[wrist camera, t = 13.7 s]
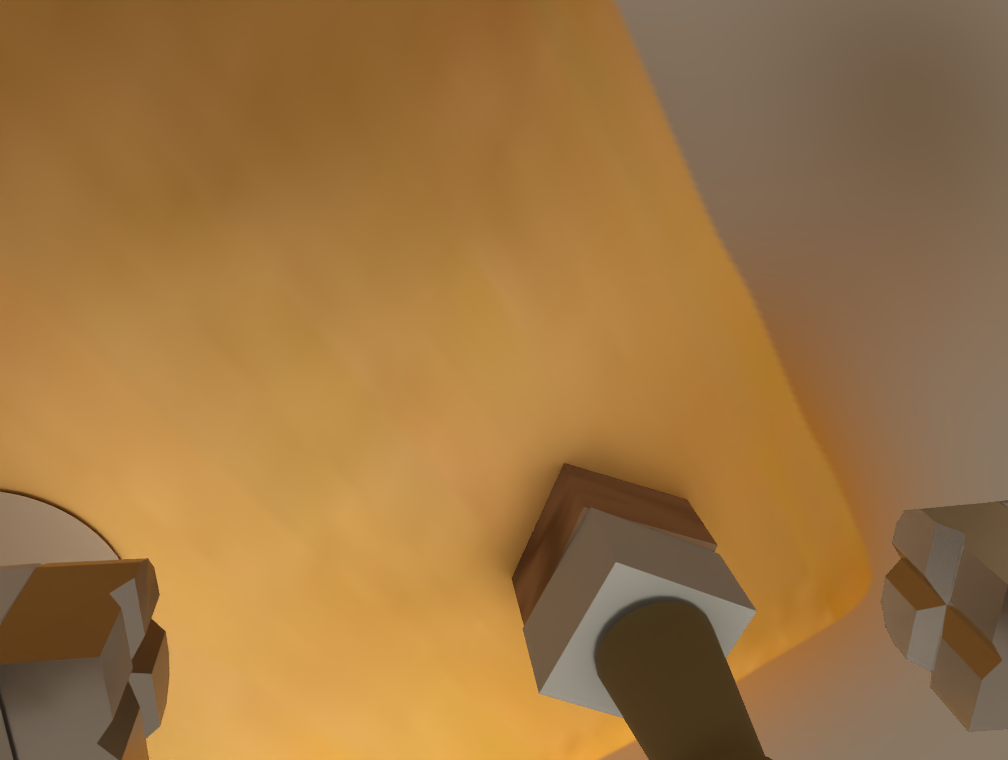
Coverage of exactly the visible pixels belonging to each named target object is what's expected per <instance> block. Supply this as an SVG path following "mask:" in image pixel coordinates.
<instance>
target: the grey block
mask: <svg viewBox="0 0 1008 760" xmlns="http://www.w3.org/2000/svg"><path fill="white" fill-rule="evenodd" d="M658 602H681V603H685V604H688V605H692V606H695V607H696V608H698V609H699V610H700V611H702V612H703V613H704V614H706V615H707V617H708V619H709V621H710V623H711V624H712V626H713V628H714V631H715V633H716V636H717V638H718V641H719V643H720V646H721V648H722V651H723V653H724V656H725V658H727V656H728V655H729V653H730V651H731V650H732V648H733V647H734V645H735V644H736V642H737V641H738V639H739V638H740V636H741V635H742V633H743V632H744V630H745V629H746V627H747V625H748V624H749V622H750V621H751V619H752V618H753V616H754V615H755V613H756V612H757V611H756V609H755V607H754V606H753V604H752V603H751V601H750V600H749V598H748V597H747V595H746V594H745V592H744V591H743V589H742V588H741V586H740V585H739V583H738V582H737V580H736V579H735V577H734V576H733V574H732V573H731V571H730V570H729V568H728V567H727V565H726V564H725V562H724V560H723V559H722V557H721V556H720V554H718V553H715V552H712V551H710V550H707V549H704V548H701V547H699V546H696V545H693V544H690V543H688V542H685V541H682V540H679V539H677V538H674V537H671V536H668V535H666V534H663V533H660V532H657V531H655V530H652V529H649V528H647V527H644V526H641V525H638V524H636V523H633V522H630V521H627V520H625V519H622V518H619V517H616V516H614V515H611V514H608V513H605V512H603V511H600V510H597V509H594V508H592V507H591V508H590V510H589V511H588V513H587V515H586V517H585V518H584V520H583V522H582V524H581V526H580V527H579V529H578V531H577V533H576V534H575V536H574V538H573V540H572V542H571V543H570V545H569V547H568V549H567V551H566V552H565V554H564V556H563V558H562V559H561V561H560V563H559V565H558V567H557V568H556V570H555V572H554V574H553V576H552V577H551V579H550V581H549V583H548V584H547V586H546V588H545V590H544V591H543V593H542V595H541V597H540V599H539V600H538V602H537V604H536V606H535V607H534V609H533V611H532V613H531V615H530V616H529V618H528V620H527V622H526V623H525V625H524V627H523V632H524V636H525V640H526V644H527V648H528V652H529V656H530V660H531V664H532V668H533V672H534V676H535V680H536V684H537V688H538V691H539V694H542V695H546V696H549V697H552V698H556V699H559V700H563V701H566V702H570V703H573V704H577V705H580V706H583V707H587V708H590V709H594V710H597V711H601V712H604V713H608V714H611V715H614V716H618V717H621V718H623V716H622V715H621V713H620V711H619V710H618V708H617V706H616V705H615V703H614V702H613V700H612V698H611V697H610V695H609V693H608V692H607V690H606V688H605V687H604V685H603V684H602V682H601V680H600V679H599V677H598V675H597V670H596V663H595V660H596V655H597V651H598V647H599V645H600V643H601V641H602V640H603V638H604V637H605V635H606V634H607V632H608V630H610V629H611V628H612V627H613V626H614V625H615V624H616V623H617V622H618V621H619V620H620V619H622V618H623V617H624V616H626V615H628V614H630V613H632V612H633V611H635V610H637V609H639V608H641V607H644V606H648V605H651V604H655V603H658Z"/></svg>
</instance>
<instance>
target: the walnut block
mask: <svg viewBox="0 0 1008 760" xmlns="http://www.w3.org/2000/svg"><path fill="white" fill-rule="evenodd" d="M591 507H592V508H594V509H597V510H600V511H603V512H605V513H608V514H611V515H614V516H616V517H619V518H622V519H625V520H627V521H630V522H633V523H636V524H638V525H641V526H644V527H647V528H649V529H652V530H655V531H657V532H660V533H663V534H666V535H668V536H671V537H674V538H677V539H679V540H682V541H685V542H688V543H690V544H693V545H696V546H699V547H701V548H704V549H707V550H710V551H712V552H714V551H715V549H716V547H717V544H716V542H715V541H714V539H713V538H712V536H711V535H710V533H709V532H708V530H707V529H706V527H705V526H704V524H703V523H702V521H701V520H700V518H699V517H698V515H697V514H696V512H695V511H694V509H693V508H692V506H691V505H690V503H689V502H688V500H686V499H683V498H679V497H676V496H673V495H669V494H666V493H663V492H659V491H656V490H652V489H649V488H646V487H642V486H639V485H636V484H632V483H629V482H626V481H622V480H619V479H616V478H612V477H609V476H606V475H602V474H599V473H596V472H592V471H589V470H585V469H582V468H579V467H575V466H572V465H569V464H565V463H564V465H563V467H562V469H561V471H560V473H559V476H558V478H557V480H556V482H555V484H554V487H553V489H552V491H551V493H550V495H549V498H548V500H547V502H546V504H545V506H544V509H543V511H542V513H541V515H540V518H539V520H538V522H537V524H536V526H535V529H534V531H533V533H532V535H531V537H530V540H529V542H528V544H527V546H526V548H525V551H524V553H523V555H522V557H521V559H520V562H519V564H518V566H517V568H516V570H515V573H514V575H513V577H512V581H513V585H514V589H515V593H516V597H517V601H518V605H519V608H520V612H521V616H522V620H523V624H524V625H525V623H526V622H527V620H528V618H529V616H530V615H531V613H532V611H533V609H534V607H535V606H536V604H537V602H538V600H539V599H540V597H541V595H542V593H543V591H544V590H545V588H546V586H547V584H548V583H549V581H550V579H551V577H552V576H553V574H554V572H555V570H556V568H557V567H558V565H559V563H560V561H561V559H562V558H563V556H564V554H565V552H566V551H567V549H568V547H569V545H570V543H571V542H572V540H573V538H574V536H575V534H576V533H577V531H578V529H579V527H580V526H581V524H582V522H583V520H584V518H585V517H586V515H587V513H588V511H589V510H590V508H591Z"/></svg>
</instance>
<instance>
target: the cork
mask: <svg viewBox="0 0 1008 760" xmlns="http://www.w3.org/2000/svg"><path fill="white" fill-rule="evenodd" d="M595 663H596V670H597V675H598V677H599V679H600V680H601V682H602V684H603V685H604V687H605V688H606V690H607V692H608V693H609V695H610V697H611V698H612V700H613V702H614V703H615V705H616V706H617V708H618V710H619V711H620V713H621V715H622V716H623V718H624V720H625V721H626V723H627V724H628V726H629V728H630V729H631V731H632V733H633V734H634V736H635V738H636V739H637V741H638V742H639V744H640V746H641V747H642V749H643V751H644V752H645V754H646V755H647V757H648V759H649V760H772V759H770V758H769V757H766V756H765V755H764V752H763V750H762V747H761V745H760V742H759V740H758V738H757V735H756V733H755V730H754V728H753V725H752V723H751V720H750V718H749V715H748V713H747V710H746V708H745V705H744V703H743V700H742V698H741V695H740V693H739V690H738V688H737V685H736V683H735V680H734V678H733V675H732V673H731V670H730V668H729V665H728V663H727V661H726V658H725V656H724V653H723V651H722V648H721V646H720V643H719V641H718V638H717V636H716V633H715V631H714V628H713V626H712V624H711V623H710V621H709V619H708V617H707V615H706V614H704V613H703V612H702V611H700V610H699V609H698V608H696V607H695V606H692V605H688V604H685V603H681V602H658V603H655V604H651V605H648V606H644V607H641V608H639V609H637V610H635V611H633V612H632V613H630V614H628V615H626V616H624V617H623V618H622V619H620V620H619V621H618V622H617V623H616V624H615V625H614V626H613V627H612V628H611V629H610V630H608V632H607V634H606V635H605V637H604V638H603V640H602V641H601V643H600V645H599V647H598V651H597V655H596V660H595Z"/></svg>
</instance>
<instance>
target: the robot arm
mask: <svg viewBox="0 0 1008 760" xmlns="http://www.w3.org/2000/svg"><path fill="white" fill-rule="evenodd" d="M892 544H893V546H894V547H895V549H896V551H897V552H898V554H899V556H900V558H901V559H900V560H899V562H898V563H897V564H896V565H895V566H894V567H893V569H891V570H890V571H889V573H888V574H887V575H886V576H885V580H884V586H883V593H882V599H881V605H882V610H883V616H884V622H885V627H886V629H887V631H888V633H889V635H890V637H891V639H892V641H893V643H894V644H895V646H896V647H897V648H898V649H899V651H900V652H901V653H902V654H903V656H904V657H905V658H906V659H907V660H910V661H911V662H913V663H915V664H917V665H919V666H921V667H923V668H925V669H927V670H929V671H931V682H930V688H931V689H932V690H933V691H934V692H935V693H936V695H937V696H938V697H939V698H940V699H941V700H942V702H943V703H944V704H945V705H946V706H947V707H948V709H949V710H950V711H951V712H952V713H953V714H954V716H955V717H956V718H957V719H958V720H959V721H960V723H961V724H962V725H963V726H964V727H965V728H966V730H967V731H968V732H974V731H987V730H1002V729H1008V500H1004V501H995V502H988V503H978V504H967V505H956V506H946V507H936V508H924V509H914V510H905V511H904V512H903V513H902V515H901V517H900V518H899V520H898V521H897V523H896V527H895V531H894V536H893V540H892ZM159 595H160V594H159V589H158V584H157V579H156V574H155V569H154V566H153V565H152V564H151V562H150V561H149V559H148V558H146V559H124V560H119V559H118V557H117V556H116V554H115V553H114V552H113V551H112V549H111V548H110V547H109V546H108V545H107V544H106V543H105V541H103V540H102V539H101V538H100V537H99V536H98V535H97V534H96V533H95V532H94V531H92V530H91V529H90V528H89V527H87V526H86V525H85V524H83V523H82V522H80V521H79V520H77V519H76V518H74V517H73V516H71V515H69V514H67V513H65V512H64V511H61V510H59V509H57V508H55V507H53V506H51V505H48V504H46V503H43V502H40V501H37V500H35V499H31V498H28V497H24V496H20V495H15V494H11V493H4V492H0V760H149V757H148V751H147V745H146V738H147V737H148V736H149V735H151V734H152V733H153V732H154V731H155V730H156V729H158V728H159V727H160V725H161V721H162V718H163V714H164V710H165V707H166V702H167V693H168V684H169V652H168V645H167V638H166V632H165V631H164V630H163V629H162V628H161V627H160V626H159V625H158V624H157V623H156V622H154V621H153V620H152V619H151V617H152V615H153V612H154V609H155V606H156V604H157V601H158V598H159Z"/></svg>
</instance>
